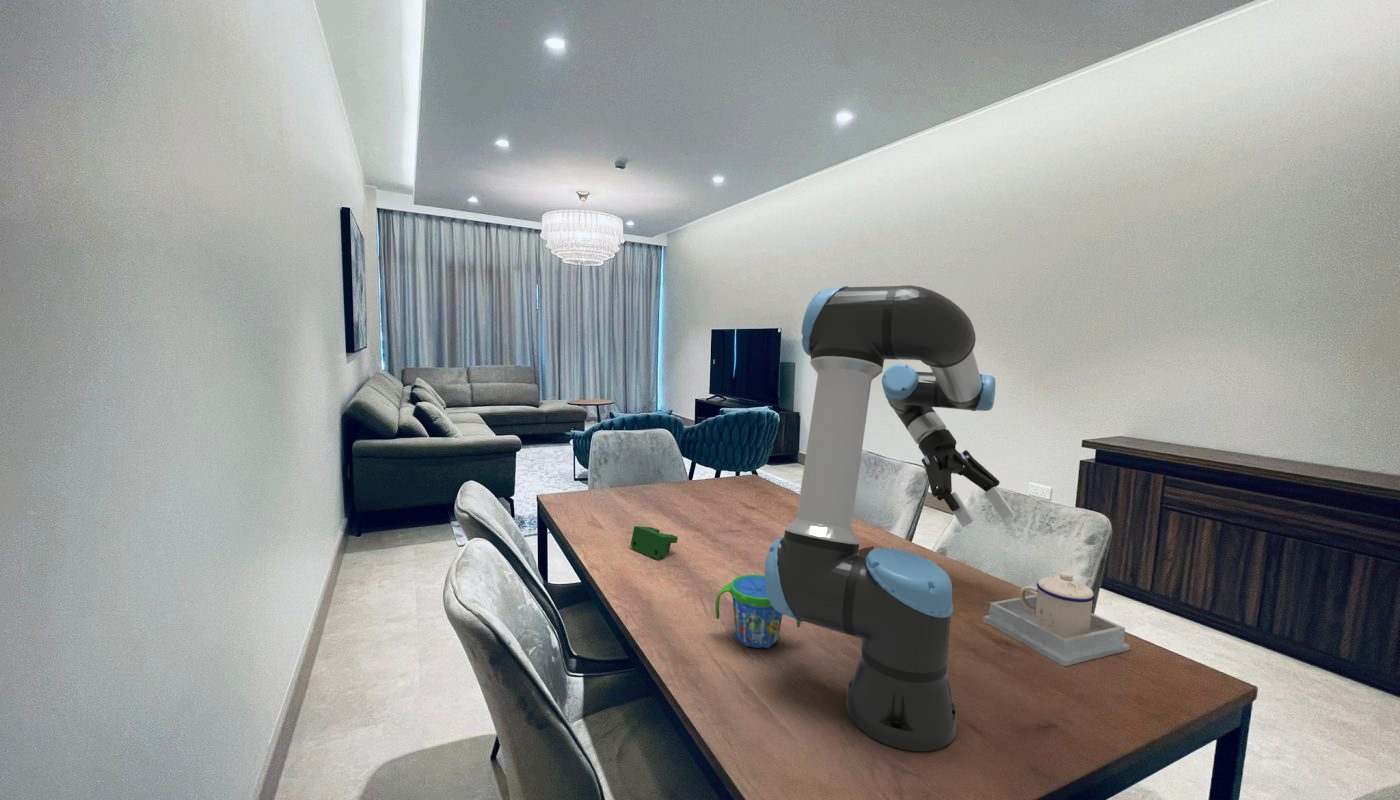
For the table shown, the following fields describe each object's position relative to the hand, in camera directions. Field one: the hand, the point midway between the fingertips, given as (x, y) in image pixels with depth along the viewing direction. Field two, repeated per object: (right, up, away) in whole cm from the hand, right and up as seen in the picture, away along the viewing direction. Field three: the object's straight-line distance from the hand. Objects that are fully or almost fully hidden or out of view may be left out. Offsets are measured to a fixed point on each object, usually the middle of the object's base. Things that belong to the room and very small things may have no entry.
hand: (989, 520), depth 117 cm
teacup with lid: (+7, -19, -9) cm, 23 cm away
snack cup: (-49, -19, -14) cm, 55 cm away
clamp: (-71, -14, +28) cm, 78 cm away
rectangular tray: (+8, -20, -9) cm, 23 cm away
